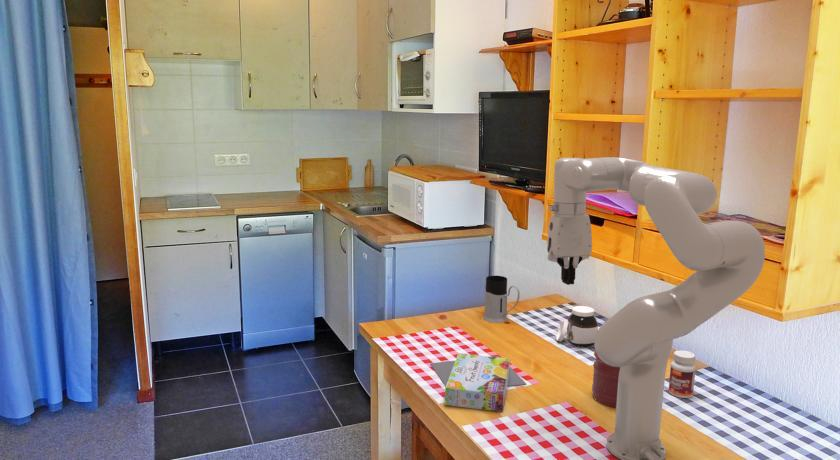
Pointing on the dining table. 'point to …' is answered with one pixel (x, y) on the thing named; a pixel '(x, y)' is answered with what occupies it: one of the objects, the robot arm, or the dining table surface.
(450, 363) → the mat
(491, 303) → the grey mug
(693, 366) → the pill bottle
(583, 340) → the spread jar
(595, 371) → the canister
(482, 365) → the snack box
